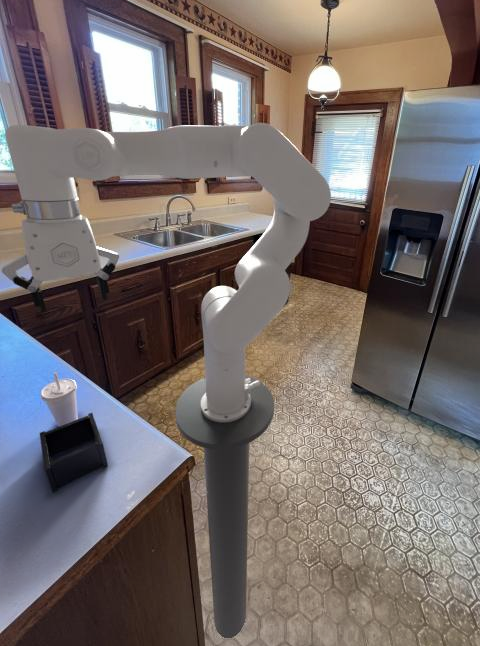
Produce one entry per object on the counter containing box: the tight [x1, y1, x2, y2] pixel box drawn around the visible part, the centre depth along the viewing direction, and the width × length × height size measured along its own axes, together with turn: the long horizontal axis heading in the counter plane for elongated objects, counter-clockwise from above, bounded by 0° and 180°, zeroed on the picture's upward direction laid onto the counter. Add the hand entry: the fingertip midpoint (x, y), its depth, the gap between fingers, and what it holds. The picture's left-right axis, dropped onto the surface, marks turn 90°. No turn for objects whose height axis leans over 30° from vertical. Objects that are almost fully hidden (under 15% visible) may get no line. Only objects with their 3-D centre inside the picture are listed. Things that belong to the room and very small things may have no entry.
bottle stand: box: [39, 412, 109, 494], centre depth 60 cm, size 9×10×6 cm
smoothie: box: [40, 371, 79, 427], centre depth 67 cm, size 6×6×14 cm
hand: (74, 303), depth 58 cm, fingers open, 9 cm apart
